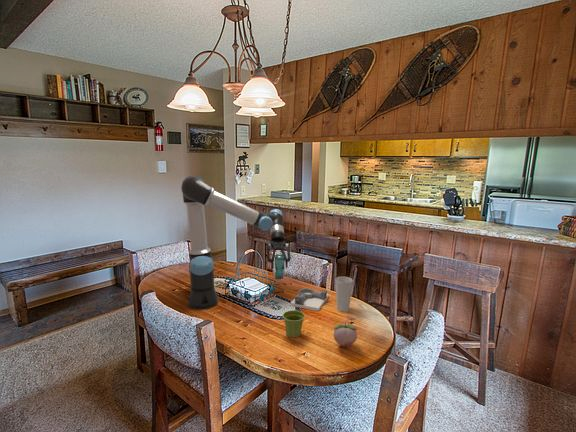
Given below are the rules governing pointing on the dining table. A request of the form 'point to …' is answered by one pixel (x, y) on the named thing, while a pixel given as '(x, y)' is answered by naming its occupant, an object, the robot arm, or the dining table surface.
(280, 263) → the cylinder
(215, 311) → the dining table surface
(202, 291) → the robot arm
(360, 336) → the dining table surface
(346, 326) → the decorative fruit
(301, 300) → the shaft board
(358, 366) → the dining table surface
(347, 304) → the cup
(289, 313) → the plant pot
